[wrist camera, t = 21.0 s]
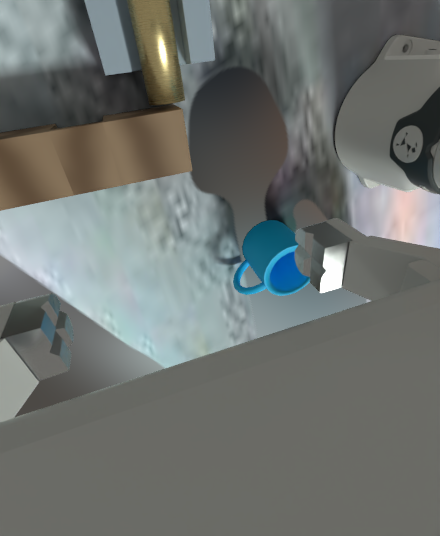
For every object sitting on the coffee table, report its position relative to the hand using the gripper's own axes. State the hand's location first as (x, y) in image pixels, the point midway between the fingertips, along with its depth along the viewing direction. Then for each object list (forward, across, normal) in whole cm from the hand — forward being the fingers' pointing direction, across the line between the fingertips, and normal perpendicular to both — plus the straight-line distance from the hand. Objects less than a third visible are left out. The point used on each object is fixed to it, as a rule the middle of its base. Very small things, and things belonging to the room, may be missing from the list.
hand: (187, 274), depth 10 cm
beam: (+29, +5, +1) cm, 30 cm away
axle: (+28, -4, -10) cm, 30 cm away
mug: (+29, -14, +20) cm, 38 cm away
